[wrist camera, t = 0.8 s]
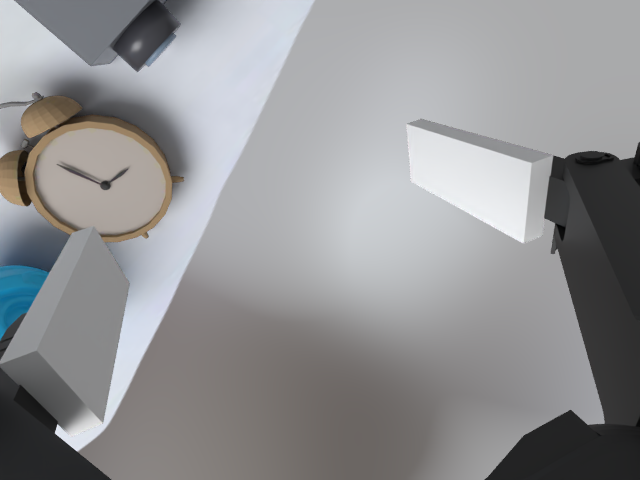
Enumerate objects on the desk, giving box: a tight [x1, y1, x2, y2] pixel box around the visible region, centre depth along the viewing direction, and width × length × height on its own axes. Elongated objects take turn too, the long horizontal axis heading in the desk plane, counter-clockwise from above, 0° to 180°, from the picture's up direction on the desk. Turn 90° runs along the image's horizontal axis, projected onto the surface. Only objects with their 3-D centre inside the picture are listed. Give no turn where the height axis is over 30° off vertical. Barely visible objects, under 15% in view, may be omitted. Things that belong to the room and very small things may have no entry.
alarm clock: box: [0, 92, 184, 242], centre depth 32 cm, size 11×5×15 cm
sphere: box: [0, 265, 49, 340], centre depth 32 cm, size 12×11×12 cm
